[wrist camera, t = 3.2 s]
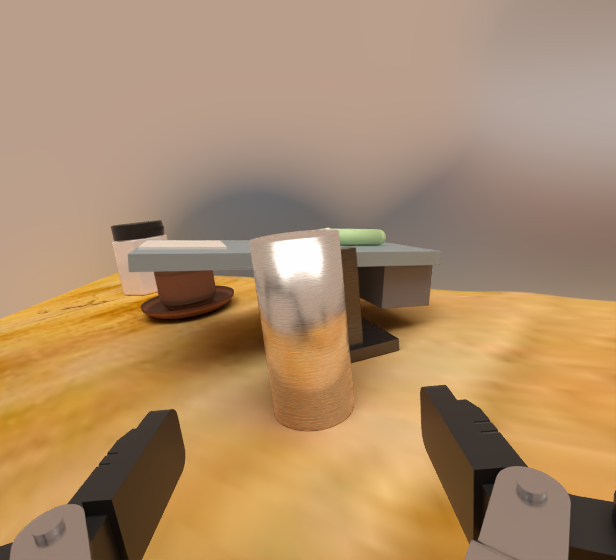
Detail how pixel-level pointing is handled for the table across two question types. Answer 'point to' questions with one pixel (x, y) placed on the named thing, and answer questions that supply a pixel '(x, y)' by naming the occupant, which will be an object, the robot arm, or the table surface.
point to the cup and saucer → (186, 294)
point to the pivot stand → (361, 332)
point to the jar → (127, 241)
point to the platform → (369, 247)
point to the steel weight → (304, 327)
